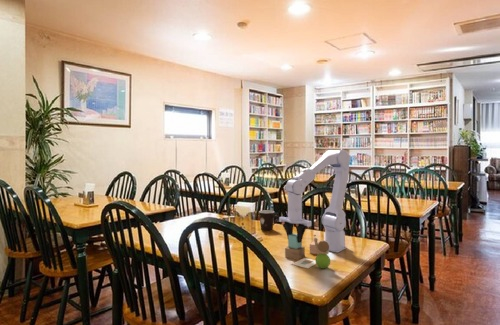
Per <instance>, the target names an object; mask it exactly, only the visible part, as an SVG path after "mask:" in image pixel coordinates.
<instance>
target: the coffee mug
mask: <svg viewBox="0 0 500 325" xmlns="http://www.w3.org/2000/svg"><path fill="white" fill-rule="evenodd" d="M258 216H259V224H260V230H261V231H262V230H264V231H263V232H271V231H270V230H272V231H273V230H274V228H273V227H274V225H275V224H277V222H279V217H278V216H276V215H275V211H274V210H269V209H267V210H266V209H264V210H259V211H258ZM274 217H275V218H276V221H275V222H274V220H275V219H274Z"/></svg>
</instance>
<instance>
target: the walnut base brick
mask: <svg viewBox="0 0 500 325" xmlns="http://www.w3.org/2000/svg"><path fill="white" fill-rule="evenodd" d="M305 249H306V247H305V246H303V245H302V247H300V248H298V249H294V248H290V247H288V246H287V247H285V248H284V258H287V259H294V260H296V261H299V260H301V259H303V258H305V254H306V252H305Z"/></svg>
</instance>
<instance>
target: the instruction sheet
mask: <svg viewBox="0 0 500 325" xmlns="http://www.w3.org/2000/svg"><path fill="white" fill-rule="evenodd" d="M292 265H293V266H297V267H301V268H304V269H310V268H312V267H314V266H316V265H317V264H316V259H311V258H307V257H302V258H300V259H299V260H296V261H295V262H293V263H292Z"/></svg>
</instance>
